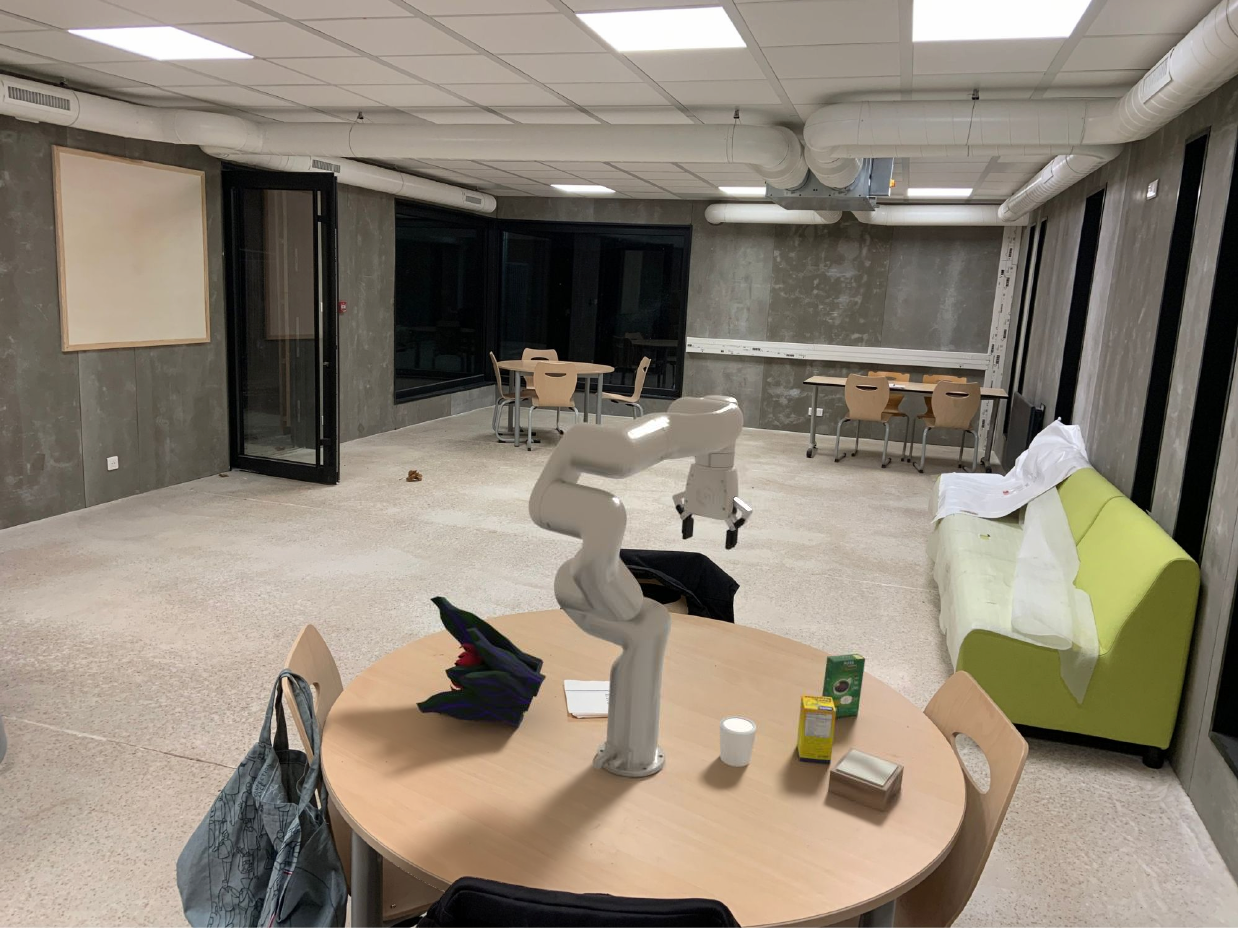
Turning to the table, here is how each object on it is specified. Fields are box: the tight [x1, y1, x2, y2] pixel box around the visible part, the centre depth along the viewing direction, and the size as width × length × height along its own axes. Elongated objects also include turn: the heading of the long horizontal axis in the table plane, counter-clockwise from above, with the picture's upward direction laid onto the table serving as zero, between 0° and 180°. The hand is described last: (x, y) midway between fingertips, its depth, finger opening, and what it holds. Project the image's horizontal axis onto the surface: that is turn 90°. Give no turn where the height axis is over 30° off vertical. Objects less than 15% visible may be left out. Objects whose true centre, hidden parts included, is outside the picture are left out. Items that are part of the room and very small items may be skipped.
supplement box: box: [796, 694, 836, 764], centre depth 168 cm, size 6×6×11 cm
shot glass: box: [719, 715, 758, 767], centre depth 166 cm, size 7×7×7 cm
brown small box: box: [827, 747, 905, 812], centre depth 158 cm, size 10×10×4 cm
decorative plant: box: [415, 595, 546, 728], centre depth 178 cm, size 21×26×30 cm
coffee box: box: [821, 653, 866, 719], centre depth 184 cm, size 8×3×13 cm, turn 110°
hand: (708, 543), depth 176 cm, fingers open, 9 cm apart
